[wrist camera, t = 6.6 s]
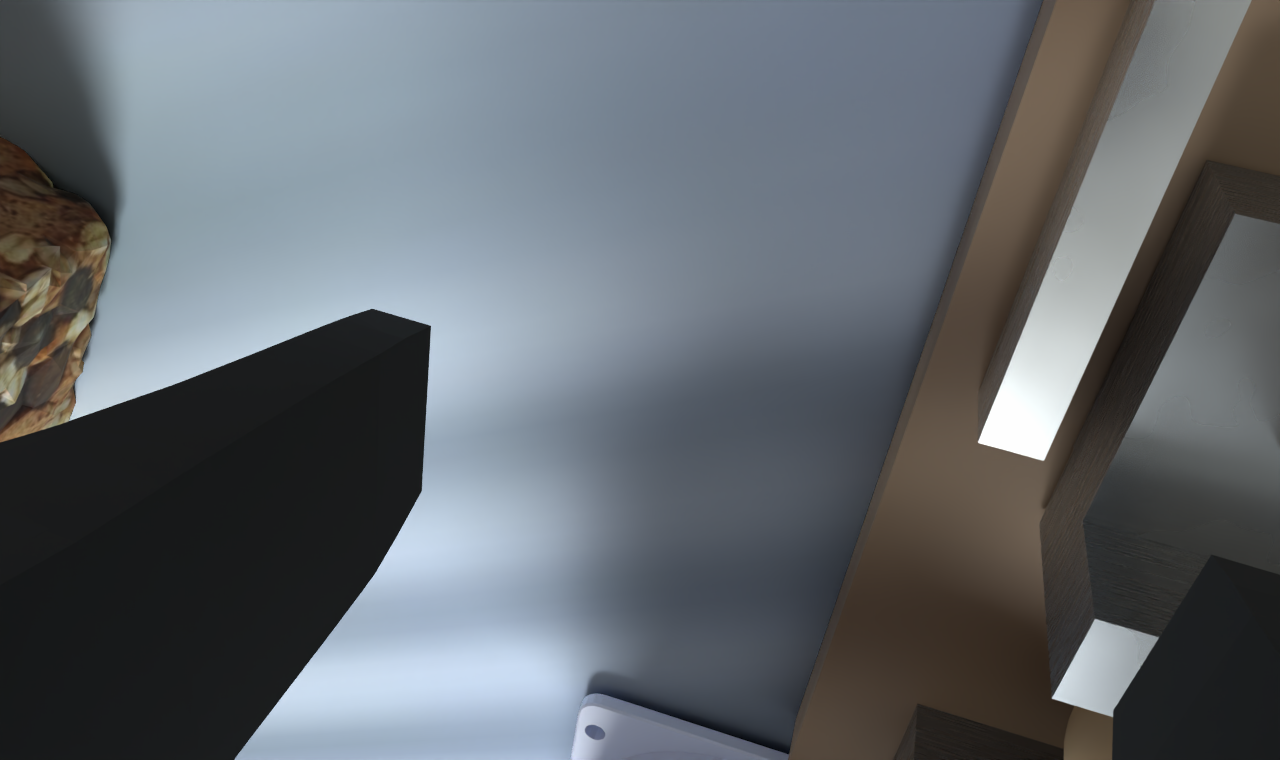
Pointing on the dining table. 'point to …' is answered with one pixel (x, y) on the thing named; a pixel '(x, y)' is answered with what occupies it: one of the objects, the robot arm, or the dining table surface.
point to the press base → (1028, 372)
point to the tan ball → (1088, 736)
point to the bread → (43, 293)
